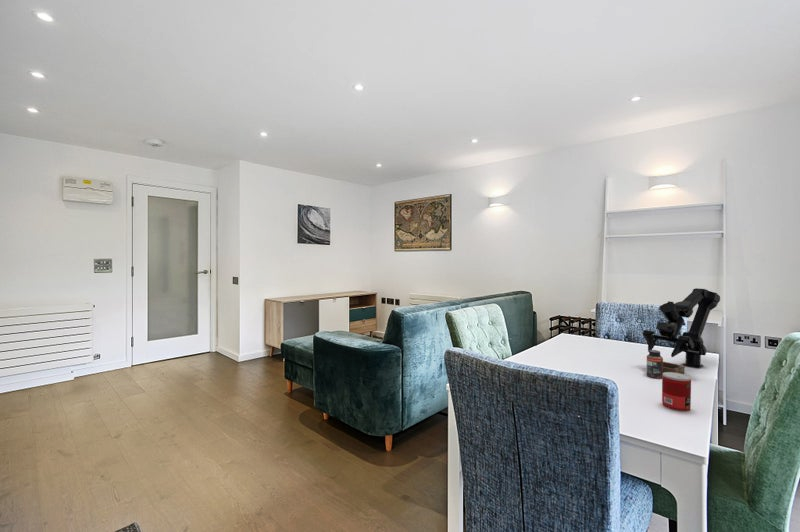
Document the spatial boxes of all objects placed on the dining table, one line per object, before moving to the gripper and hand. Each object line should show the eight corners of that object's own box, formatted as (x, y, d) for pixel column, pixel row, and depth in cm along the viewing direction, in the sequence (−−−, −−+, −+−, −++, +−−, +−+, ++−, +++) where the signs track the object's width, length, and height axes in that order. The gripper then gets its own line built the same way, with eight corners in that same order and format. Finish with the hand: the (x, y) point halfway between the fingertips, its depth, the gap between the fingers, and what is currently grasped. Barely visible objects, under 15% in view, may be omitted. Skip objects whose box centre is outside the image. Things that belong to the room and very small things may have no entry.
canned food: (692, 413, 123) (692, 380, 122) (662, 408, 127) (663, 376, 127) (688, 405, 129) (689, 374, 129) (661, 400, 133) (661, 370, 133)
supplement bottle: (657, 374, 163) (658, 349, 163) (666, 379, 157) (666, 352, 157) (643, 374, 163) (643, 349, 163) (651, 378, 157) (651, 352, 157)
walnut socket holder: (657, 367, 173) (657, 360, 173) (684, 373, 164) (684, 365, 164) (648, 371, 167) (648, 364, 167) (675, 378, 158) (675, 370, 158)
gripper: (644, 312, 173) (630, 338, 168) (691, 318, 156) (677, 347, 151) (653, 327, 177) (640, 353, 172) (699, 334, 160) (687, 363, 155)
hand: (660, 354), depth 162 cm, fingers open, 9 cm apart
